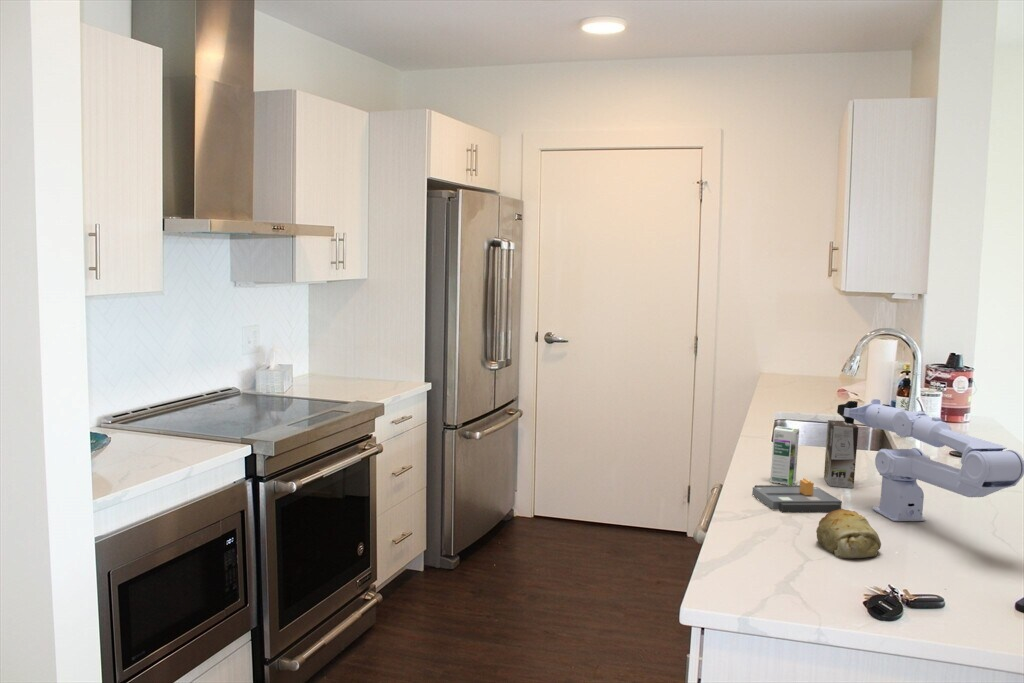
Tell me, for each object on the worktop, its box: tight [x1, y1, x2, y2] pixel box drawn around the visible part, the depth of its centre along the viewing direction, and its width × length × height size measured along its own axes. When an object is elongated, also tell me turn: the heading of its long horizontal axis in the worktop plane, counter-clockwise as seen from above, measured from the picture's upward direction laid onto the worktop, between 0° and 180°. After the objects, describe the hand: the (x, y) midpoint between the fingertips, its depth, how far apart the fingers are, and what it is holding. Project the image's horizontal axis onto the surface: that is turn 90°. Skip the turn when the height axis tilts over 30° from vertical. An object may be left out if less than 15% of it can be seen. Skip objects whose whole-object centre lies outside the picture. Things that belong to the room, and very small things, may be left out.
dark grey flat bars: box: [754, 484, 840, 513], centre depth 207 cm, size 16×14×2 cm
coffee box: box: [823, 419, 860, 489], centre depth 226 cm, size 9×6×16 cm
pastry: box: [816, 508, 882, 560], centre depth 175 cm, size 14×12×8 cm
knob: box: [799, 477, 815, 495], centre depth 207 cm, size 3×2×3 cm, turn 7°
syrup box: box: [769, 425, 800, 485], centre depth 225 cm, size 6×6×14 cm
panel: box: [751, 486, 843, 511], centre depth 207 cm, size 12×17×2 cm
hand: (852, 410), depth 217 cm, fingers open, 7 cm apart
